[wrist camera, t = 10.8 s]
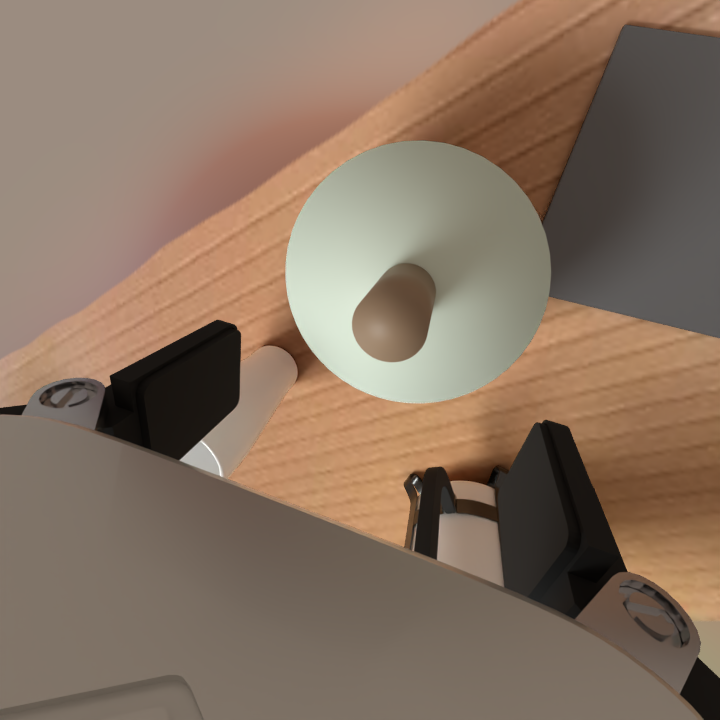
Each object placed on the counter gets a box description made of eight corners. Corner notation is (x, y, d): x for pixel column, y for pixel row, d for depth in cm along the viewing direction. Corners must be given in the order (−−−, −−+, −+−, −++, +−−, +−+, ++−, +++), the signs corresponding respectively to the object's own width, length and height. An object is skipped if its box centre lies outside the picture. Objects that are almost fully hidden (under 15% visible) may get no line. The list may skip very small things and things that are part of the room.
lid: (601, 174, 18) (676, 170, 12) (489, 420, 26) (498, 497, 19) (305, 118, 20) (234, 89, 14) (284, 360, 28) (233, 412, 21)
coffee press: (578, 500, 36) (887, 1330, 10) (478, 568, 44) (505, 1126, 18) (435, 410, 35) (366, 1034, 10) (360, 495, 43) (212, 961, 18)
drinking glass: (284, 403, 40) (199, 510, 27) (237, 364, 39) (126, 454, 26) (318, 368, 37) (240, 469, 24) (268, 324, 36) (159, 404, 23)
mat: (940, 72, 19) (950, 69, 18) (732, 340, 26) (736, 342, 26) (622, 27, 21) (625, 24, 20) (516, 287, 28) (516, 288, 28)
